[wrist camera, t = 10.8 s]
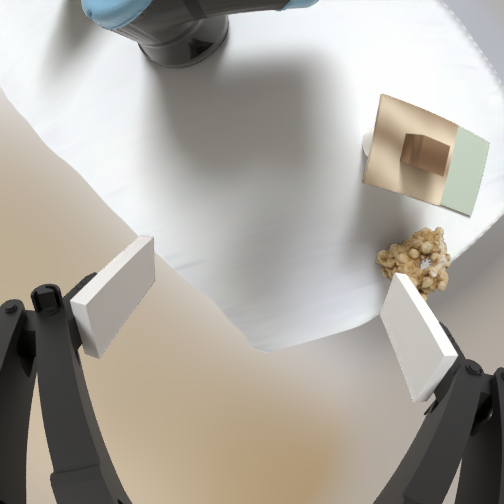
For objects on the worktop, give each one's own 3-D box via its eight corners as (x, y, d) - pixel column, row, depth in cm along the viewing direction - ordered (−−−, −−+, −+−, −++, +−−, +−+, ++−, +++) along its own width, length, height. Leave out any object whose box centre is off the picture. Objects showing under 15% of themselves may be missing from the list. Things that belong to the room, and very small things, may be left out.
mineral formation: (365, 250, 49) (391, 295, 36) (422, 205, 45) (465, 236, 31) (386, 280, 51) (413, 329, 37) (439, 239, 47) (480, 276, 33)
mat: (428, 111, 38) (429, 111, 37) (488, 142, 38) (489, 142, 37) (409, 193, 44) (410, 194, 44) (469, 215, 44) (471, 216, 43)
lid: (380, 94, 28) (398, 88, 22) (454, 124, 27) (480, 126, 22) (362, 181, 32) (376, 192, 27) (436, 204, 32) (458, 217, 27)
